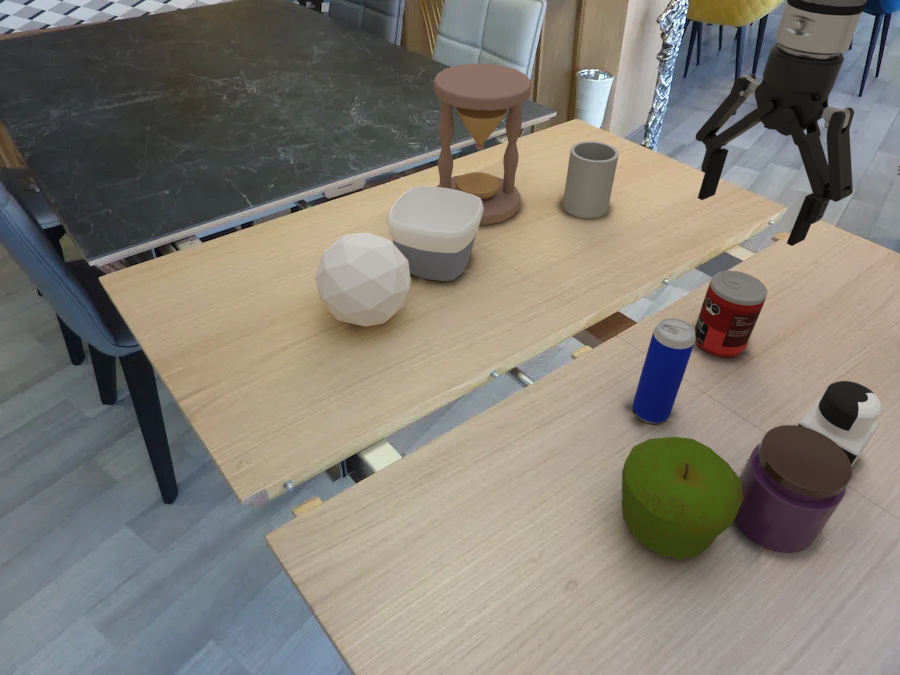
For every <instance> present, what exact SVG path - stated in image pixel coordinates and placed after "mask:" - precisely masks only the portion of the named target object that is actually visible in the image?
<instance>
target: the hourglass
mask: <svg viewBox="0 0 900 675" xmlns="http://www.w3.org/2000/svg"><path fill="white" fill-rule="evenodd" d="M531 90H532V81H531V79H530V78H529V76H528V75H527V74H526V73H524V72H522V71H520V70H518V69H516V68H512V67H509V66H505V65H501V64H491V63H467V64H466V63H465V64H458V65H454V66H451V67H447V68H445V69H443V70H441V71H440V72H438V73H436V76H435V77H434V79H433V91H434V94H435V96H436V98H438V99H439V121H438V124H437V125H438V126H437V128H438V129H437V133H438V138H439V141H440V145H441V148H440V149H441V150H440V153H439V156H438V159H437V169H438V176H439V184H438V185H437V186H436V187H441V188H448V189H453V190H458V191H462V192H466V193H469V194H472V195H475V196H477V197H479V198H480V199H481V200H482V203H483V208H484V209H483V214H482V217H481V221H480V224H479V226H488V225H494V224H500V223H502V222H504V221H507V220H508V219H511V218H512V217H514V215H515V214H516V213H517V212H518V211H519V210H520V202H521V193H520V192H519V190H518V188H517V187H516V186H515V182H516V172H517V168H518V164H519V157H520V156H519V151H518V145H517V142H518V139H519V137H520V134H521V131H522V125H523V121H522V120H523V119H522V107H523V106H522V105H523V103H525V102H526V101H527V100H529V98H530V95H531ZM454 107H455V109H456V112H457V115H458V117H459V119H460V120H461V122H462V124H463V126H464V127H465V129H466V130H467V131H468V133H469V135H470V137H472V139H473V140H474V142H475V149H476V150H478V151H483V150H484V149H485V142H487V140H488V139H489V137H490V136H491V135H492V134H493V133H494V132H495V130H496V129H497V128H498V126H499V125H500V124H501V123H502V121H503V120H504V119H505V116H506V114H507V117H506V122H505V132H506V137H507V138H506V139H507V145H506V148H505V151H504V154H503V158H502V159H503V160H502V164H503V178H502V177H498V176H495V175H493V174H490V173H488V172H487V173H486V172H481V171H480V172H479V171H478V172H477V171H475V172H467V173H464V174H459V175H454V176H452V175H453V171H454V169H453V168H454V158H453V153H452V151H451V145H452V142H453V139H454V134H455V122H454V116H453V114H454V111H453V109H454ZM507 111H508V112H507Z"/></svg>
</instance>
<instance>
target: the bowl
mask: <svg viewBox="0 0 900 675" xmlns="http://www.w3.org/2000/svg"><path fill="white" fill-rule="evenodd" d="M483 209H484V208H483V203H482V200H481V199H480V198H479V197H477V196H475V195H472V194H469V193H466V192H462V191H458V190H453V189H448V188H441V187H437V186H432V185H431V186H429V185H415V186H413V187H411V188H409V189H407V190H406V191H405V192H404V193H402V194H401V195H400V196H399V197H398V198H397V199H396V200H395V202H393V204H392V206H391V208H390V209H389V211H388V214H387V217H386V226H387V228H388V231H389V234H390V235H389V236H390V238H391V241H392V243H393V244H394V245H395V246H396V247H397V248H398V250H399V251H400V252H401V253H402V254H403V255H404V256H405V258H406V259H407V260H408V263H409V271H410V275H412V276H415V277H417V278H421V279H424V280H428V281H429V280H430V281H439V282H451V281H455V280H456V279H457V278H459V276H461V275H462V273H463V272H464V271H465V270H466V268H467V267H468V264H469V261H470V258H471V255H472V251H473V247H474V245H475V244H474V243H475V241H476V237H477V234H478V230H479V228H480V225H479V224H480V221H481V217H482V214H483Z"/></svg>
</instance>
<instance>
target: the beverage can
mask: <svg viewBox="0 0 900 675" xmlns="http://www.w3.org/2000/svg"><path fill="white" fill-rule="evenodd" d="M694 329H695V327H693V325H691V324H690V323H689V322H687V321H686V320H684V319H680V318H675V317H668V318H667V317H666V318H664V319H661V320H660V321H659V322H657V324H656V326H655V327H653V330H652V334H651V338H650V341H649V345H648V349H647V352H646V355H645V359H644V362H643V366H642V370H641V373H640V376H639V380H638V383H637V386H636V391H635V394H634V397H633V400H632V401H633V402H632V410H633V412H634V414H635V415H636V417H637V418H638V419H640V420H641V421H643V422H644V423H649V424H652V425H653V424H654V425H655V424H660V423H662V422H663V423H664V422H665V421H667V420H668V419H669V418H670V416H671V414H672V413H671V412H672V410H673V407H674V405H675V402H676V399H677V396H678V393H679V390H680V387H681V385H682V381H683V379H684V375H685V372H686V371H687V366H688V364H689V361H690V358H691V355H692V352H693V350H694V346H695V344H696V342H695V339H696V338H695V330H694Z"/></svg>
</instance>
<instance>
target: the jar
mask: <svg viewBox="0 0 900 675" xmlns="http://www.w3.org/2000/svg"><path fill="white" fill-rule="evenodd" d="M852 467H853V466H852ZM852 467H851V463H850V461H849V459H848V457H847V455H846V454H845V452H844V451H843V450H842V449H841V448H840V447H839V446H838V445H837V444H836V443H835V442H834V441H832V440H831V439H830V438H828V437H827V436H825V435H823V434H821V433H819V432H817V431H815V430H812V429H809V428H806V427H801V426H798V425H793V424H785V425H778V426H776V427H773V428H771V429H770V430H768V431H767V432H766V433H765V434H764V435H763V438H762V439H761V442H759V443H758V444H757V445H755V447H753V449H752V451H751V453H750V454H749V457H748V459H747V461H746V462H745V465H744V467H743V469H742V472H741V473H740V476H738V477H739V478H740V480H741V483H742V491H743V501H742V503H741V506H740V508H739V510H738V513H737V515H736V517H735V519H734V522H733V524H734V525H735V526H736V528H737V529H738V530H739V531H740V532H741V533H742V534H743V535H744V536H745V537H746V538H747V539H748V540H750V541H752V542H753V543H754V544H756V545H758V546H759V547H761V548H764V549H766V550H769V551H772V552H776V553H780V554H795V553H801V552H803V551H805V550H807V549H808V548H810V547H811V546H812V545H813V544H814V542H815V541H816V540H817V538H818V536H819V535H820V534H821V532H822V530H823V529H824V528H825V526H826V525H827V523H828V521H829V520H830V518H831V517H832V515H833V514H834V513H835V511H836V509H837V508H838V506H839V505H840V504H841V502H842V500H843V499H844V497H845V495H846V489H847V485H848V484H849V482H850V481H851V478H852V475H853V468H852Z"/></svg>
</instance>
